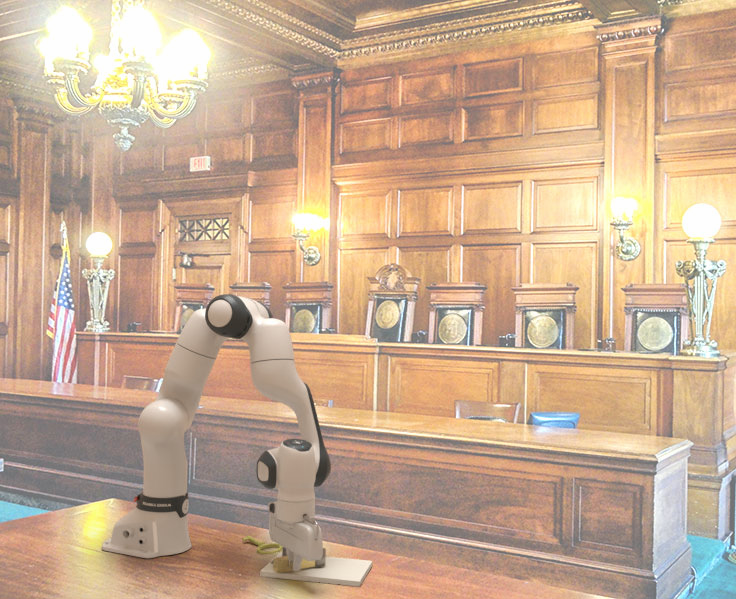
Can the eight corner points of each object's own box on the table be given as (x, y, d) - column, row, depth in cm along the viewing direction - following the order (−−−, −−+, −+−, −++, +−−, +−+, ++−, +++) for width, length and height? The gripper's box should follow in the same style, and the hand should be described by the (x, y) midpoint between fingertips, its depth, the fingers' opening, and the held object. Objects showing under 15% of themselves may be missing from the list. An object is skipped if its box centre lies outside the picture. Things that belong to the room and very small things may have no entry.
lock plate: (260, 576, 188) (260, 557, 188) (279, 556, 202) (280, 539, 202) (359, 586, 183) (360, 567, 183) (372, 565, 198) (372, 548, 198)
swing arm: (320, 561, 195) (321, 546, 195) (328, 565, 192) (328, 550, 192) (271, 570, 188) (272, 554, 188) (278, 574, 185) (279, 558, 185)
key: (247, 542, 215) (247, 534, 215) (285, 550, 209) (285, 542, 209) (231, 549, 208) (231, 541, 208) (270, 558, 203) (270, 549, 203)
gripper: (330, 518, 179) (328, 580, 179) (287, 499, 196) (286, 555, 196) (305, 522, 176) (304, 585, 176) (264, 502, 193) (263, 559, 193)
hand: (294, 569), depth 186 cm, fingers closed
